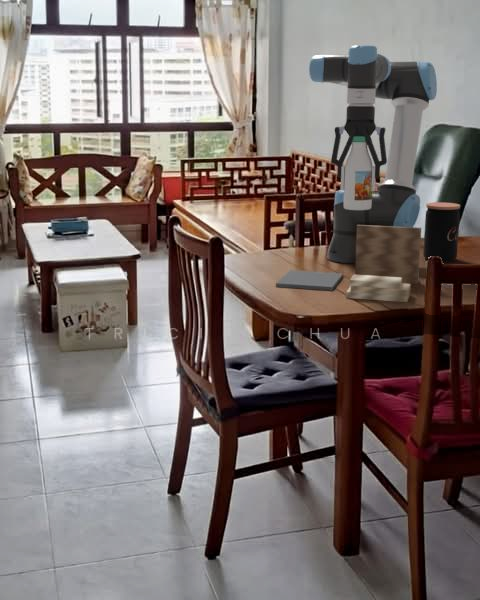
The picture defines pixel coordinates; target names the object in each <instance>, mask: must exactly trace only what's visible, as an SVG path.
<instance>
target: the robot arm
mask: <svg viewBox="0 0 480 600" xmlns="http://www.w3.org/2000/svg"><path fill="white" fill-rule="evenodd" d="M433 65H434V64H432V63H431V62H429V61H419V60H417V61H390V60H389V59H388V58H387V56H385V55H382V54H380V53H378V48H377V47H376V46H375V45H371V44H370V45H366V44H365V45H362V44H361V45H352V46H350V47H349V49H348V54H319V55H318V54H317V55H316V54H315V55H313V56H312V57H311V58H310V62H309V66H308V67H309V69H308V70H309V71H308V73H309V77H310V80H312V82H314V83H321V84H323V83H330V84H336V85H340V86H344V87H347V91H346V92H347V94H346V103H347V105H348V106H347V107H346V119H345V124H344V125H343V126H336V127H335V128H334V134H335V135H334V136H335V137H334V142H333V143H334V144H333V148H332V154H331V160H330V162H331V164H334V165H336V166H337V173H336V174H337V178H339V179H340V180H341V181H340V189H338V190H337V191H336V192H335V193H334V204H333V234H332V237H331V241H330V243H329V247H328V250H327V253H326V254H327V256H326V257H327V260H329V261H332V262H337V263H342V264H356V239H357V225H374V226H394V227H414V226H415V224H416V223H417V221H418V220H417V219H418V218H419V214H420V209H421V198H420V196H419V195H418V194H417V193H416V192H417V189H416V188H415V186H414V185H413V180H414V172H415V167H416V159H417V153H418V145H419V138H420V131H421V125H422V119H423V111H424V110H426V109H428V107H429V103H430V101H433V100H435V99H436V96H437V90H438V86H437V85H438V84H437V74H436V70H435V67H434V66H433ZM376 99H381V100H391V104H392V106H393V108H395V109H394V116H393V123H392V129H391V138H390V143H389V150H388V158H387V150H386V141H385V134H386V131H387V130H386V127H385V126H384V127H382V126H376V125H377V124H376V123H375V116H376V113H375V112H376V110H375V109H376V107H375V106H374V105H375V104H376ZM344 131H345V132H346V133H347V135H348V138H347V140H346V143H345V146H344V148H343V151H342V152H341V155H340V157H339V159H338V155H339V148H340V144H341V138H342V135H343V133H344ZM374 132H376V134H377V136H378V140H379V149H380V159H381V160H380V159H379V157H378V153H377V151H376V149H375V146H374V144H373V140H372V137H371V136H372V135H373V133H374ZM354 136H364V137H365V140H366V143H367V149H368V151H369V152H370V155H371V156H370V157H371V158H372V161H373V163H374V166H373V165H372V166H373V167H372V187H371V191H372V205H371V209H369V210H348V209H345V208H344V175H345V165H344V162H345V160H346V158H347V155H348V153H349V151H350V150H351V149H350V148H352V144H351V143H352V140H353V137H354ZM385 165H386V170H385V177H384V181H383V182H382V183H381V184H379V186H378V191H376V180H379V178H380V174H381V166H385ZM375 191H376V192H375Z"/></svg>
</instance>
